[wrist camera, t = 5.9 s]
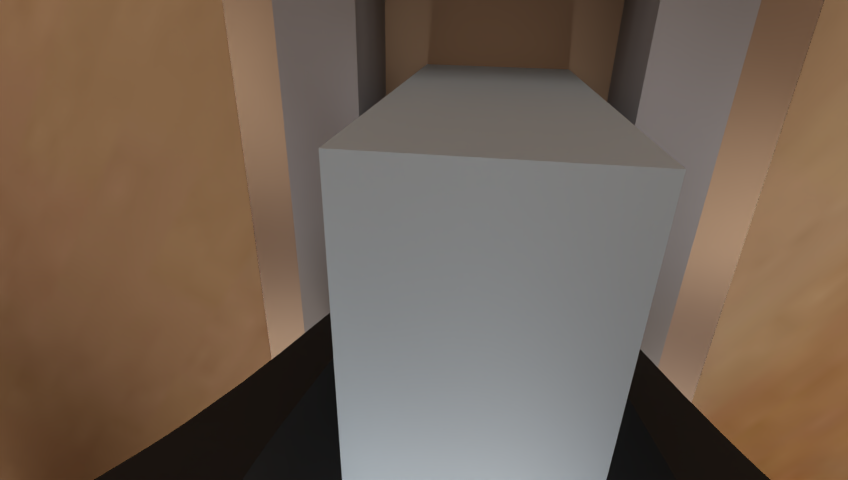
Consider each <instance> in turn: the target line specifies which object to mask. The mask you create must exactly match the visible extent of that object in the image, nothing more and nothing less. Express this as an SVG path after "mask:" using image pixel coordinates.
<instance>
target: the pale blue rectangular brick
mask: <svg viewBox="0 0 848 480" xmlns="http://www.w3.org/2000/svg"><path fill="white" fill-rule="evenodd" d="M319 162H320V176H321V190H322V204H323V218H324V232H325V246H326V260H327V274H328V288H329V302H330V317H331V331H332V345H333V359H334V373H335V387H336V401H337V415H338V429H339V443H340V458H341V472H342V480H606V479H607V475H608V472H609V468H610V464H611V460H612V456H613V452H614V448H615V444H616V440H617V436H618V433H619V429H620V425H621V421H622V417H623V413H624V409H625V405H626V401H627V398H628V394H629V390H630V386H631V382H632V378H633V374H634V370H635V366H636V363H637V359H638V355H639V351H640V347H641V343H642V339H643V335H644V331H645V327H646V324H647V320H648V316H649V312H650V308H651V304H652V300H653V296H654V292H655V289H656V285H657V281H658V277H659V273H660V269H661V265H662V261H663V257H664V253H665V250H666V246H667V242H668V238H669V234H670V230H671V226H672V222H673V218H674V215H675V211H676V207H677V203H678V199H679V195H680V191H681V187H682V183H683V179H684V176H685V172H686V169H685V168H684V167H683V166H682V165H680V164H679V163H678V162H677V161H676V160H675V159H673V158H672V157H671V156H670V155H669V154H667V153H666V152H665V151H664V150H663V149H662V148H660V147H659V146H658V145H657V144H656V143H655V142H653V141H652V140H651V139H650V138H649V137H648V136H646V135H645V134H644V133H643V132H642V131H641V130H639V129H638V128H637V127H636V126H635V125H633V124H632V123H631V122H630V121H629V120H628V119H626V118H625V117H624V116H623V115H622V114H621V113H619V112H618V111H617V110H616V109H615V108H614V107H612V106H611V105H610V104H609V103H608V102H606V101H605V100H604V99H603V98H602V97H601V96H599V95H598V94H597V93H596V92H595V91H594V90H592V89H591V88H590V87H589V86H588V85H587V84H585V83H584V82H583V81H582V80H581V79H579V78H578V77H577V76H576V75H575V74H574V73H572V72H571V71H570V70H569V69H544V68H517V67H489V66H462V65H435V64H427V65H425V66H424V67H423V68H422V69H420V70H419V71H418V72H416V73H415V74H414V75H413V76H411V77H410V78H409V79H407V80H406V81H405V82H404V83H402V84H401V85H400V86H398V87H397V88H396V89H394V90H393V91H392V92H391V93H389V94H388V95H387V96H385V97H384V98H383V99H382V100H380V101H379V102H378V103H376V104H375V105H374V106H372V107H371V108H370V109H369V110H367V111H366V112H365V113H363V114H362V115H361V116H360V117H358V118H357V119H356V120H354V121H353V122H352V123H350V124H349V125H348V126H347V127H345V128H344V129H343V130H341V131H340V132H339V133H338V134H336V135H335V136H334V137H332V138H331V139H330V140H328V141H327V142H326V143H325V144H323V145H322V146H321V147H319Z"/></svg>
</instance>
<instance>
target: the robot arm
mask: <svg viewBox="0 0 848 480" xmlns="http://www.w3.org/2000/svg"><path fill="white" fill-rule="evenodd" d="M94 480H342V472H341V458H340V443H339V429H338V415H337V401H336V387H335V373H334V359H333V345H332V331H331V317H330V313H329V314H328V315H326V316H325V317H324V318H323V319H321V320H320V321H319V322H318V323H316V324H315V325H314V326H313V327H311V328H310V329H309V330H308V331H306V332H305V333H304V334H303V335H302V336H300V337H299V338H298V339H297V340H295V341H294V342H293V343H292V344H291V345H289V346H288V347H287V348H286V349H284V350H283V351H282V352H281V353H279V354H278V355H277V356H276V357H274V358H273V359H272V360H271V361H269V362H268V363H267V364H265V365H264V366H263V367H262V368H260V369H259V370H258V371H256V372H255V373H254V374H253V375H251V376H250V377H249V378H247V379H246V380H245V381H244V382H242V383H241V384H239V385H238V386H237V387H235V388H234V389H232V390H231V391H230V392H228V393H227V394H225V395H224V396H223V397H221V398H220V399H218V400H217V401H216V402H214V403H213V404H211V405H210V406H209V407H207V408H206V409H204V410H203V411H202V412H200V413H199V414H197V415H196V416H195V417H193V418H192V419H190V420H189V421H188V422H186V423H185V424H183V425H182V426H180V427H179V428H177V429H176V430H174V431H173V432H171V433H170V434H168V435H166V436H165V437H163V438H162V439H160V440H159V441H157V442H155V443H154V444H152V445H151V446H149V447H148V448H146V449H144V450H143V451H141V452H139V453H138V454H136V455H134V456H133V457H131V458H130V459H128V460H126V461H125V462H123V463H121V464H120V465H118V466H116V467H115V468H113V469H111V470H110V471H108V472H106V473H105V474H103V475H101V476H100V477H98V478H96V479H94ZM606 480H770V479H769V478H768V477H767V476H766V475H765V474H763V473H762V472H761V471H760V470H759V469H758V468H757V467H756V466H755V465H754V464H753V463H752V462H751V461H750V460H749V459H747V458H746V457H745V456H744V455H743V454H742V453H741V452H740V451H739V450H738V449H737V448H736V447H735V446H734V445H733V444H732V443H731V442H730V441H729V440H728V439H727V438H726V437H725V436H724V435H723V434H722V433H721V432H720V431H719V430H718V429H717V428H716V427H715V426H714V425H713V424H712V423H711V422H710V421H709V420H708V419H707V418H706V417H705V416H704V415H703V414H702V413H701V412H700V411H699V410H698V409H697V408H696V407H695V406H694V405H693V404H692V403H691V402H690V401H689V400H688V399H687V398H686V397H685V396H684V395H683V394H682V393H681V392H680V390H679V389H678V388H677V387H676V386H675V385H674V384H673V383H672V382H671V381H670V380H669V379H668V378H667V377H666V376H665V375H664V374H663V373H662V372H661V370H660V369H659V368H658V367H657V366H656V365H655V364H654V363H653V362H652V361H651V360H650V359H649V358H648V357H647V356H646V355H645V354H644V352H643V351H642V350H641V349H640V351H639V355H638V359H637V363H636V366H635V370H634V374H633V378H632V382H631V386H630V390H629V394H628V398H627V401H626V405H625V409H624V413H623V417H622V421H621V425H620V429H619V433H618V436H617V440H616V444H615V448H614V452H613V456H612V460H611V464H610V468H609V472H608V475H607V479H606Z"/></svg>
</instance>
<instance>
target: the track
mask: <svg viewBox="0 0 848 480" xmlns="http://www.w3.org/2000/svg"><path fill="white" fill-rule="evenodd" d="M222 2H223V10H224V17H225V24H226V31H227V39H228V46H229V53H230V60H231V68H232V75H233V82H234V89H235V97H236V104H237V111H238V119H239V126H240V133H241V140H242V148H243V155H244V162H245V169H246V177H247V184H248V191H249V198H250V206H251V213H252V220H253V227H254V235H255V242H256V249H257V256H258V264H259V271H260V278H261V286H262V293H263V300H264V307H265V315H266V322H267V329H268V336H269V344H270V351H271V358H272V359H273V358H274V357H276V356H277V355H278V354H279V353H281V352H282V351H283V350H284V349H286V348H287V347H288V346H289V345H291V344H292V343H293V342H294V341H295V340H297V339H298V338H299V337H300V336H302V335H303V334H304V333H305V332H306V331H308V330H309V329H310V328H311V327H313V326H314V325H315V324H316V323H318V322H319V321H320V320H321V319H323V318H324V317H325V316H326V315H328V314H329V313H330V302H329V288H328V274H327V260H326V246H325V232H324V218H323V204H322V190H321V176H320V162H319V147H321V146H322V145H323V144H325V143H326V142H327V141H328V140H330V139H331V138H332V137H334V136H335V135H336V134H338V133H339V132H340V131H341V130H343V129H344V128H345V127H347V126H348V125H349V124H350V123H352V122H353V121H354V120H356V119H357V118H358V117H360V116H361V115H362V114H363V113H365V112H366V111H367V110H369V109H370V108H371V107H372V106H374V105H375V104H376V103H378V102H379V101H380V100H382V99H383V98H384V97H385V96H387V95H388V94H389V93H391V92H392V91H393V90H394V89H396V88H397V87H398V86H400V85H401V84H402V83H404V82H405V81H406V80H407V79H409V78H410V77H411V76H413V75H414V74H415V73H416V72H418V71H419V70H420V69H422V68H423V67H424V66H425V65H427V64H435V65H462V66H489V67H517V68H544V69H569V70H570V71H571V72H572V73H574V74H575V75H576V76H577V77H578V78H579V79H581V80H582V81H583V82H584V83H585V84H587V85H588V86H589V87H590V88H591V89H592V90H594V91H595V92H596V93H597V94H598V95H599V96H601V97H602V98H603V99H604V100H605V101H606V102H608V103H609V104H610V105H611V106H612V107H614V108H615V109H616V110H617V111H618V112H619V113H621V114H622V115H623V116H624V117H625V118H626V119H628V120H629V121H630V122H631V123H632V124H633V125H635V126H636V127H637V128H638V129H639V130H641V131H642V132H643V133H644V134H645V135H646V136H648V137H649V138H650V139H651V140H652V141H653V142H655V143H656V144H657V145H658V146H659V147H660V148H662V149H663V150H664V151H665V152H666V153H667V154H669V155H670V156H671V157H672V158H673V159H675V160H676V161H677V162H678V163H679V164H680V165H682V166H683V167H684V168H685V169H686V172H685V176H684V179H683V183H682V187H681V191H680V195H679V199H678V203H677V207H676V211H675V215H674V218H673V222H672V226H671V230H670V234H669V238H668V242H667V246H666V250H665V253H664V257H663V261H662V265H661V269H660V273H659V277H658V281H657V285H656V289H655V292H654V296H653V300H652V304H651V308H650V312H649V316H648V320H647V324H646V327H645V331H644V335H643V339H642V343H641V347H640V349H641V350H642V351H643V352H644V354H645V355H646V356H647V357H648V358H649V359H650V360H651V361H652V362H653V363H654V364H655V365H656V366H657V367H658V368H659V369H660V370H661V372H662V373H663V374H664V375H665V376H666V377H667V378H668V379H669V380H670V381H671V382H672V383H673V384H674V385H675V386H676V387H677V388H678V389H679V390H680V392H681V393H682V394H683V395H684V396H685V397H686V398H687V399H688V400H689V401H690V402H692V399H693V396H694V393H695V390H696V387H697V384H698V381H699V378H700V375H701V372H702V369H703V366H704V363H705V360H706V357H707V354H708V351H709V348H710V345H711V342H712V339H713V336H714V333H715V330H716V327H717V324H718V321H719V318H720V315H721V312H722V309H723V306H724V303H725V300H726V297H727V294H728V291H729V288H730V284H731V281H732V278H733V275H734V272H735V269H736V266H737V263H738V260H739V257H740V254H741V251H742V248H743V245H744V242H745V239H746V236H747V233H748V230H749V227H750V224H751V221H752V218H753V215H754V212H755V209H756V206H757V203H758V200H759V197H760V194H761V191H762V188H763V185H764V182H765V179H766V176H767V173H768V170H769V167H770V164H771V160H772V157H773V154H774V151H775V148H776V145H777V142H778V139H779V136H780V133H781V130H782V127H783V124H784V121H785V118H786V115H787V112H788V109H789V106H790V103H791V100H792V97H793V94H794V91H795V88H796V85H797V82H798V79H799V76H800V73H801V70H802V67H803V64H804V61H805V58H806V55H807V52H808V49H809V46H810V43H811V39H812V36H813V33H814V30H815V27H816V24H817V21H818V18H819V15H820V12H821V9H822V6H823V3H824V0H222Z"/></svg>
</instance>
